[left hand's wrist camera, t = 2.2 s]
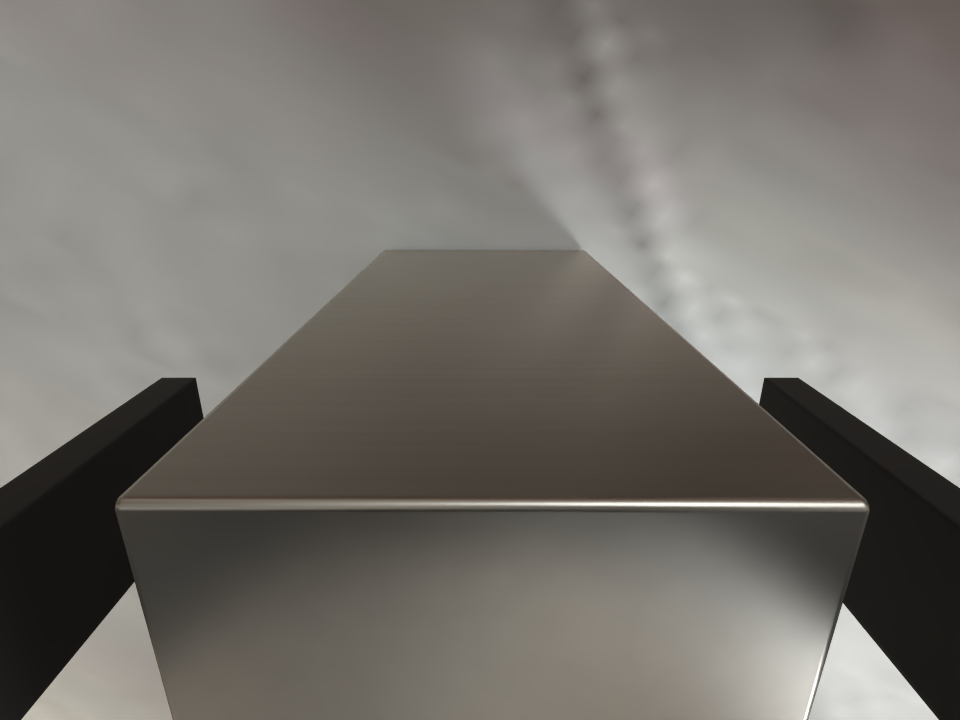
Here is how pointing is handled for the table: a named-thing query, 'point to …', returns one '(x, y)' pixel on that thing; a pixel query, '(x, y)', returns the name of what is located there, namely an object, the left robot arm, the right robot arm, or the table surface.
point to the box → (490, 516)
